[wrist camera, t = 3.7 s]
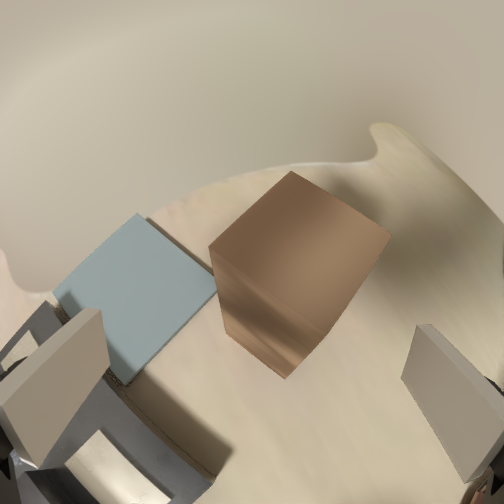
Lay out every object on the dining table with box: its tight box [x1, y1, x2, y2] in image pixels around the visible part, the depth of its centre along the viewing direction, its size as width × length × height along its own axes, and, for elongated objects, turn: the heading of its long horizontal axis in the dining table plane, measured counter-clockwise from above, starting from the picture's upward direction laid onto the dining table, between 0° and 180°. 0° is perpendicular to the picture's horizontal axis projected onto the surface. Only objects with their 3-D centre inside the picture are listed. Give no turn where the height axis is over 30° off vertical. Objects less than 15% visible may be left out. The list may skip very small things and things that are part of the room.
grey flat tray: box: [0, 300, 216, 504], centre depth 13 cm, size 17×12×5 cm
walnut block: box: [208, 171, 392, 379], centre depth 16 cm, size 5×5×11 cm
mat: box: [53, 213, 217, 386], centre depth 21 cm, size 10×10×1 cm
